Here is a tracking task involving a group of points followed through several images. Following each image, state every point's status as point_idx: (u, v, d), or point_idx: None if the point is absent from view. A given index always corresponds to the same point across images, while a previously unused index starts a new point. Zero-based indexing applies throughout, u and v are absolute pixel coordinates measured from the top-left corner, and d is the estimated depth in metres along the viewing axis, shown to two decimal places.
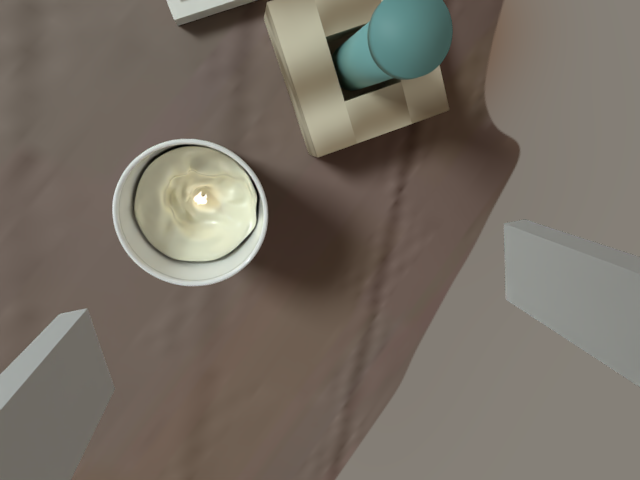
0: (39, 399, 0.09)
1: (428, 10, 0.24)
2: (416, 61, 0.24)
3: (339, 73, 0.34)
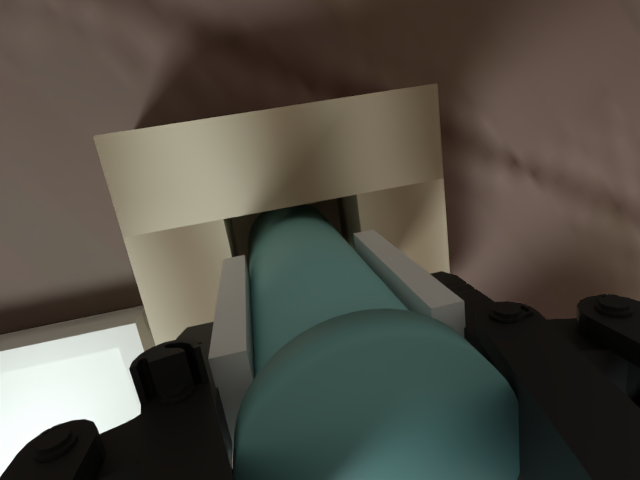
0: (249, 310, 0.11)
1: (323, 427, 0.06)
2: (476, 460, 0.07)
3: None
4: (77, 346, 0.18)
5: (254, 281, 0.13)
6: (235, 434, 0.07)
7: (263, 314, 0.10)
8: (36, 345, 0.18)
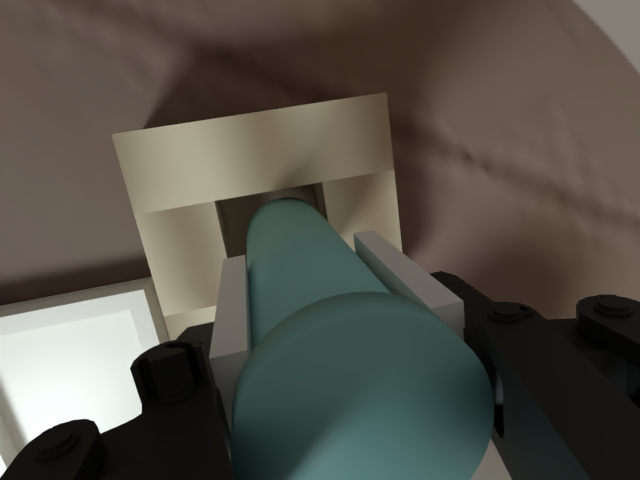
0: None
1: (311, 396, 0.07)
2: (450, 427, 0.08)
3: None
4: (95, 308, 0.22)
5: (251, 273, 0.14)
6: (233, 405, 0.08)
7: (259, 301, 0.11)
8: (62, 306, 0.22)
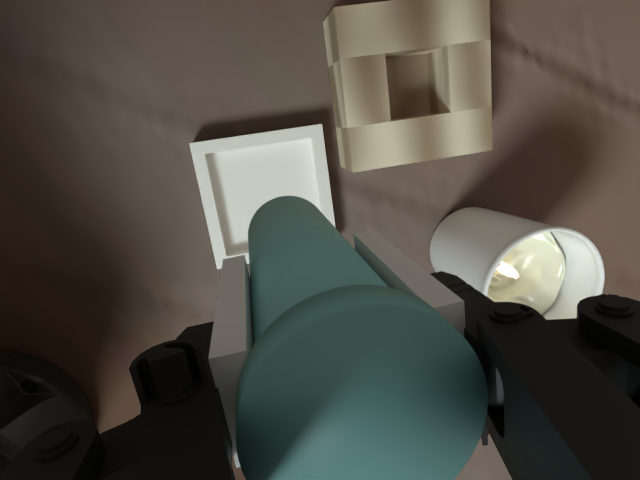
0: (249, 310, 0.11)
1: (312, 383, 0.07)
2: (445, 414, 0.08)
3: None
4: (292, 134, 0.35)
5: (253, 269, 0.14)
6: (237, 393, 0.08)
7: (261, 296, 0.11)
8: (272, 132, 0.35)
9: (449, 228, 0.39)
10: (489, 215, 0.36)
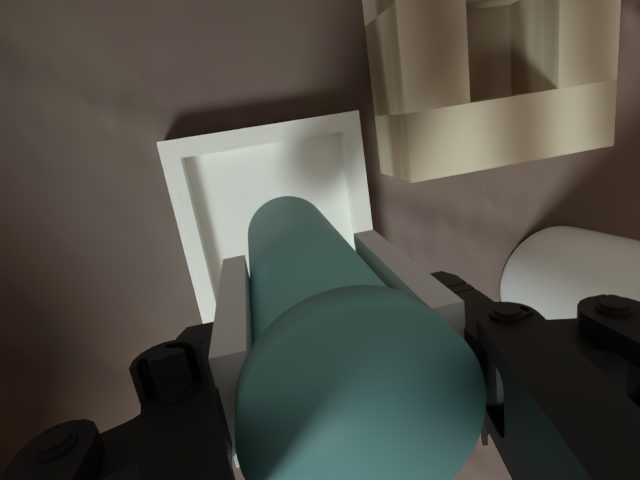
0: (249, 310, 0.11)
1: (311, 383, 0.07)
2: (444, 414, 0.08)
3: None
4: (314, 127, 0.23)
5: (253, 269, 0.14)
6: (236, 394, 0.08)
7: (261, 296, 0.11)
8: (285, 123, 0.23)
9: (536, 258, 0.27)
10: (603, 241, 0.25)
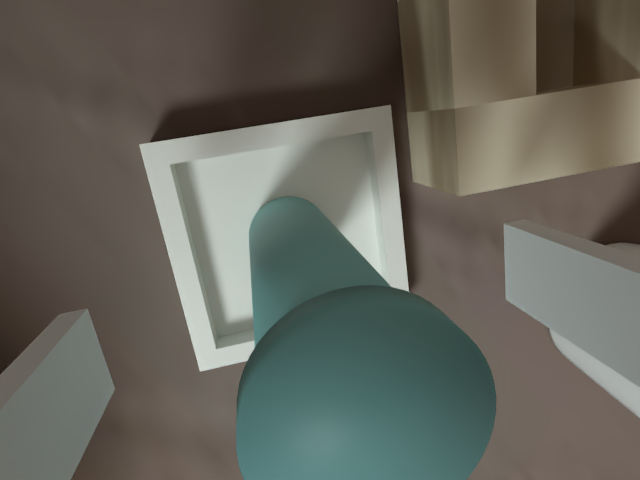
0: (39, 399, 0.09)
1: (315, 387, 0.07)
2: (453, 419, 0.08)
3: None
4: (336, 125, 0.19)
5: (254, 270, 0.14)
6: (238, 398, 0.08)
7: (262, 297, 0.11)
8: (299, 121, 0.18)
9: None
10: None
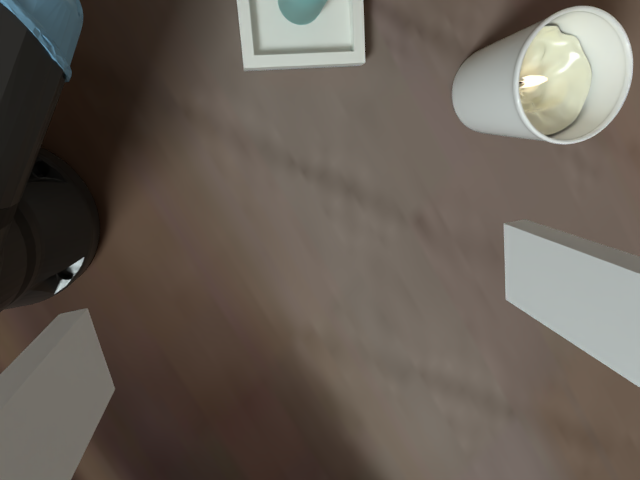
0: (39, 399, 0.09)
1: None
2: None
3: (309, 16, 0.35)
4: None
5: None
6: None
7: None
8: None
9: (475, 55, 0.39)
10: None
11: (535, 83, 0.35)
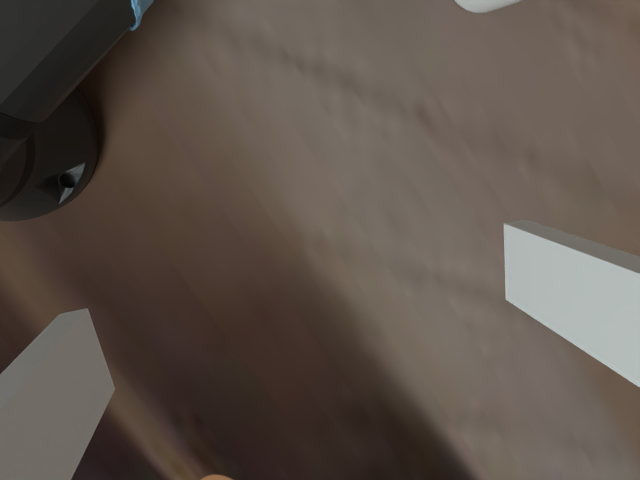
0: (39, 399, 0.09)
1: None
2: None
3: None
4: None
5: None
6: None
7: None
8: None
9: None
10: None
11: None
